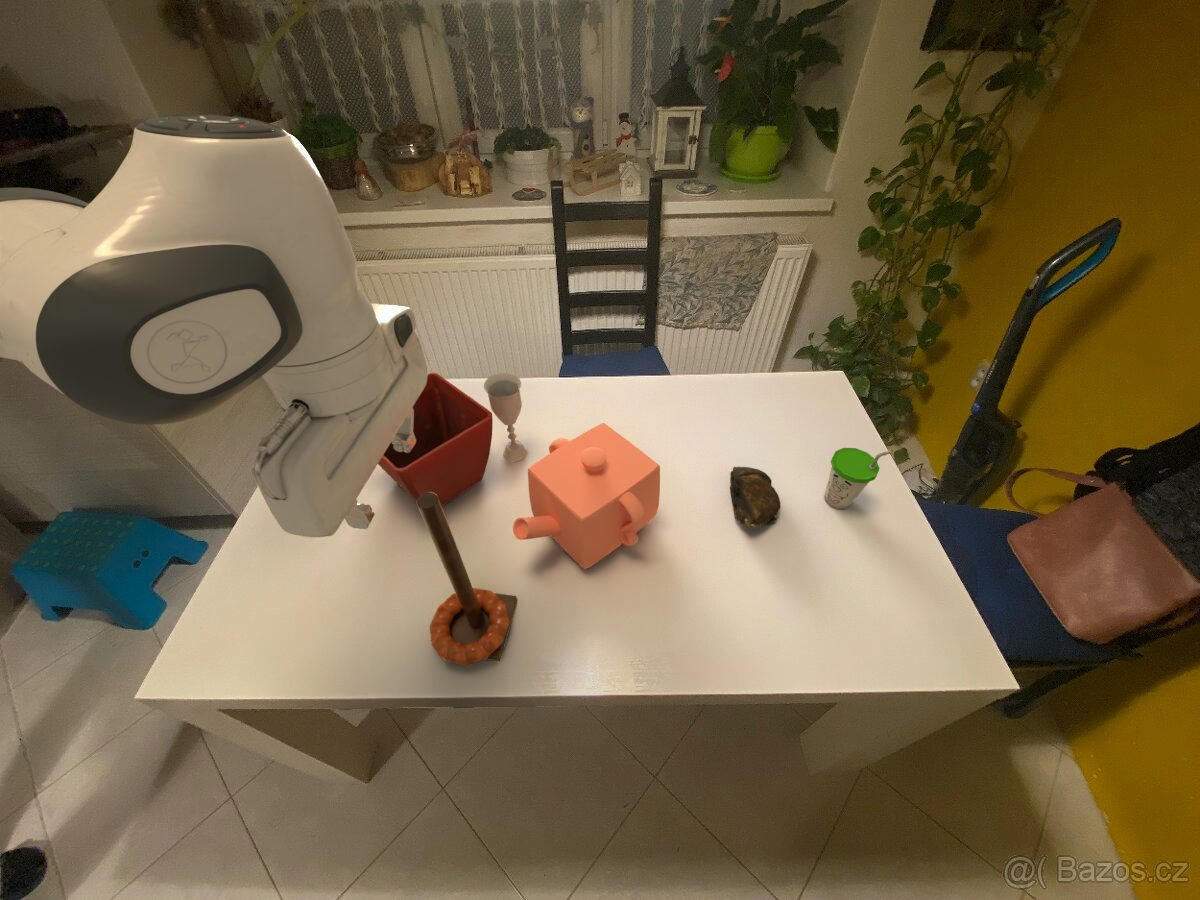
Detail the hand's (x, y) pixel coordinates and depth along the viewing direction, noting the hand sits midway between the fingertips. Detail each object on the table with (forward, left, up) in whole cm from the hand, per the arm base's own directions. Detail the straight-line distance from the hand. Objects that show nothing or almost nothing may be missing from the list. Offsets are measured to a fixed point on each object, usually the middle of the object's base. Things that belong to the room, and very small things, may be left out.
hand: (386, 482), depth 48 cm
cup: (+38, -60, -40) cm, 82 cm away
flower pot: (+33, +17, -40) cm, 54 cm away
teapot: (+24, -13, -40) cm, 48 cm away
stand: (+4, 0, -40) cm, 40 cm away
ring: (+3, 0, -37) cm, 37 cm away
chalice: (+42, +4, -40) cm, 58 cm away
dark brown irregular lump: (+35, -44, -40) cm, 69 cm away
